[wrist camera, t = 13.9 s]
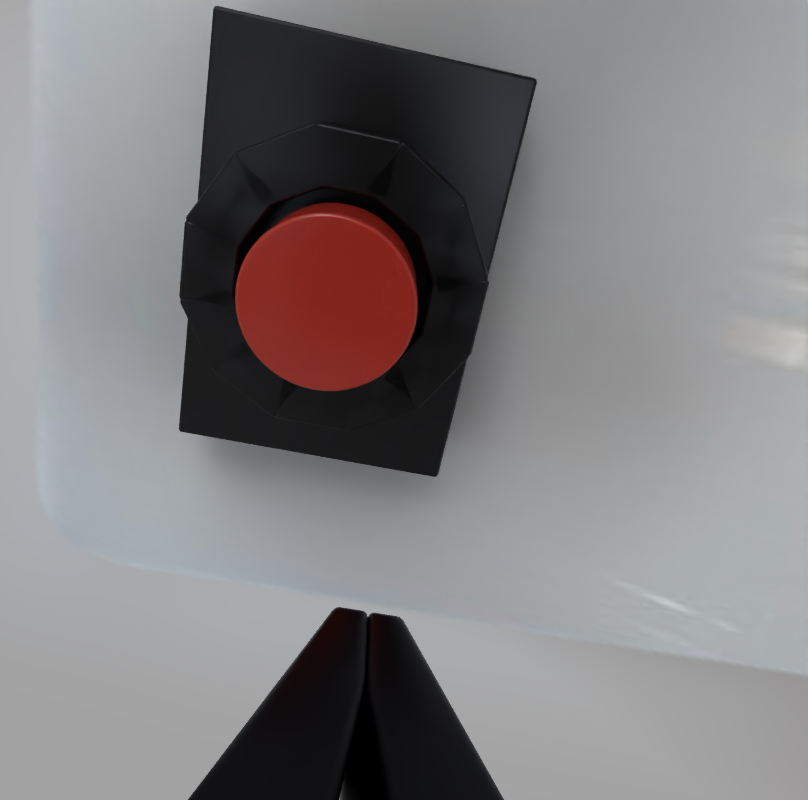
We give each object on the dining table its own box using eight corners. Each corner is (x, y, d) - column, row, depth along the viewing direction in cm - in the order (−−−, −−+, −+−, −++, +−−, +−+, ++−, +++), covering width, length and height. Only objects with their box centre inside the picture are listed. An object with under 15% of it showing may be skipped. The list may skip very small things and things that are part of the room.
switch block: (433, 442, 20) (440, 514, 17) (201, 400, 20) (154, 464, 16) (521, 83, 17) (555, 74, 13) (236, 19, 16) (187, -11, 12)
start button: (398, 377, 16) (398, 406, 14) (243, 348, 15) (225, 374, 14) (432, 221, 14) (435, 234, 13) (262, 186, 14) (244, 194, 12)
